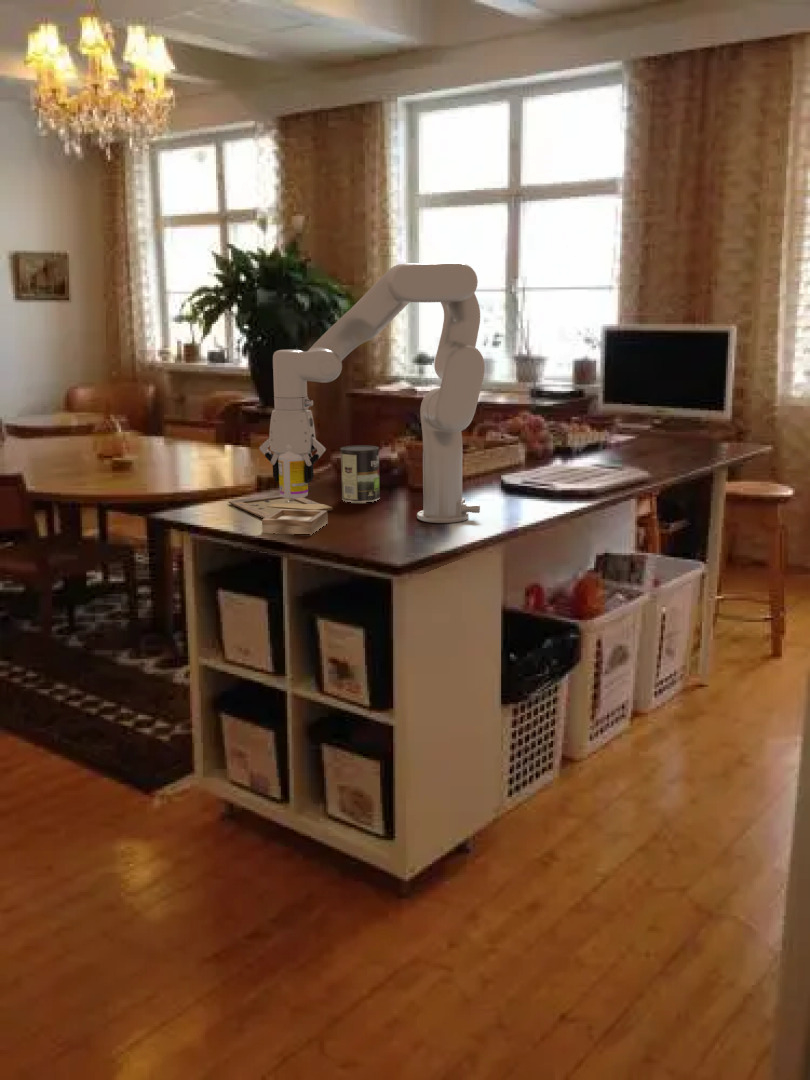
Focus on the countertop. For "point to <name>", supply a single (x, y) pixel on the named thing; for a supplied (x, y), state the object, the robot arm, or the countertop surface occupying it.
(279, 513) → the stand
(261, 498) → the picture frame
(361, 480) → the coffee can
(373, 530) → the countertop surface
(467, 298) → the robot arm
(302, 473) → the supplement bottle
